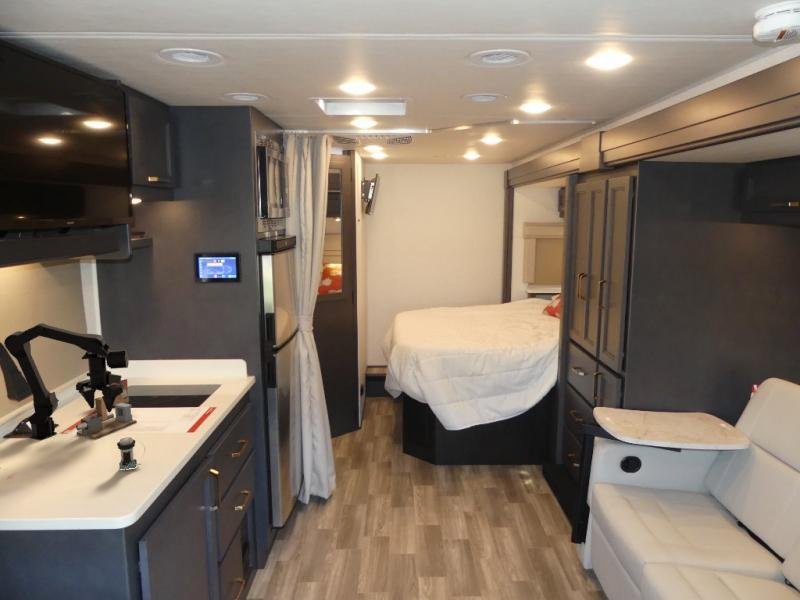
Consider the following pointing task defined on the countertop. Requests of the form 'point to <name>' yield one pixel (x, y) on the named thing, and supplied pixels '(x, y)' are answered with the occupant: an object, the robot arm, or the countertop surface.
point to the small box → (123, 396)
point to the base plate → (109, 428)
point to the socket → (123, 412)
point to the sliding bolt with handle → (97, 413)
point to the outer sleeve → (92, 424)
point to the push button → (127, 453)
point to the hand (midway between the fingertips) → (101, 410)
